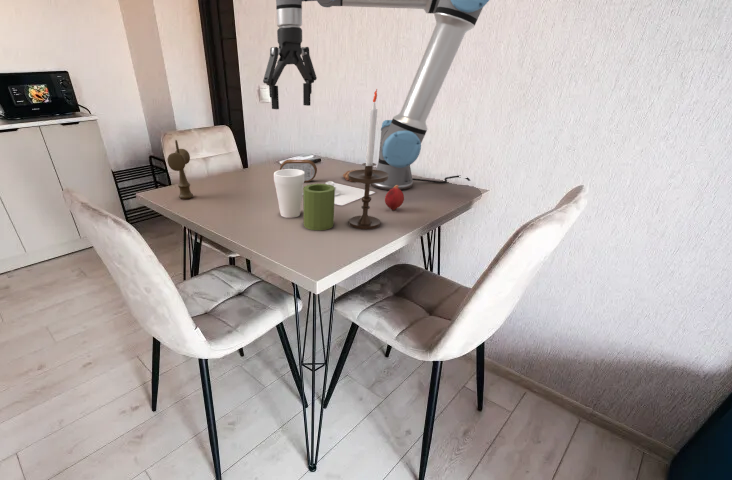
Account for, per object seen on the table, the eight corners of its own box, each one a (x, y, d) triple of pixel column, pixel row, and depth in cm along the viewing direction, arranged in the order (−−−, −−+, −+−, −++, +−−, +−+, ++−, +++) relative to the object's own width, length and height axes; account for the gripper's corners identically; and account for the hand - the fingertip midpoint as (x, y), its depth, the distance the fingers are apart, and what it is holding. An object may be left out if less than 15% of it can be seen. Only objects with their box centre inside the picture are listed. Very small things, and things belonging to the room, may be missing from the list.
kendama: (174, 202, 134) (163, 142, 123) (181, 194, 142) (170, 137, 131) (191, 201, 134) (181, 142, 123) (197, 193, 142) (187, 137, 131)
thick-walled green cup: (334, 220, 114) (335, 183, 108) (332, 231, 107) (333, 192, 101) (306, 219, 115) (305, 183, 110) (301, 229, 108) (301, 192, 102)
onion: (391, 214, 117) (394, 188, 113) (380, 209, 121) (382, 184, 117) (406, 211, 119) (409, 185, 115) (394, 206, 123) (397, 181, 119)
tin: (316, 180, 153) (317, 158, 148) (316, 182, 150) (316, 160, 146) (280, 180, 154) (279, 159, 150) (279, 182, 152) (278, 161, 147)
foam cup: (305, 219, 115) (304, 176, 108) (275, 219, 116) (273, 177, 109) (304, 209, 123) (304, 168, 116) (276, 209, 124) (274, 169, 117)
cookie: (347, 182, 149) (347, 175, 147) (340, 176, 158) (340, 168, 156) (371, 181, 150) (372, 173, 148) (363, 174, 159) (363, 167, 157)
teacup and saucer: (329, 188, 142) (329, 178, 140) (346, 192, 137) (346, 181, 135) (314, 194, 137) (314, 182, 135) (330, 198, 132) (330, 186, 130)
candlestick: (361, 214, 117) (371, 87, 98) (390, 223, 110) (406, 87, 92) (338, 224, 111) (344, 89, 92) (367, 233, 104) (380, 90, 85)
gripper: (311, 29, 120) (311, 103, 132) (248, 27, 107) (254, 110, 119) (328, 27, 116) (326, 104, 127) (263, 25, 102) (268, 111, 114)
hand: (291, 107), depth 123 cm, fingers open, 13 cm apart
